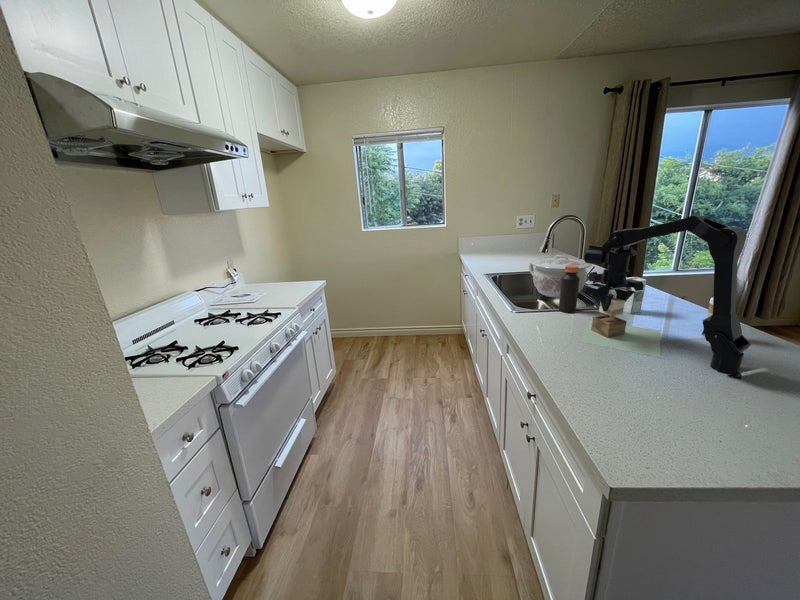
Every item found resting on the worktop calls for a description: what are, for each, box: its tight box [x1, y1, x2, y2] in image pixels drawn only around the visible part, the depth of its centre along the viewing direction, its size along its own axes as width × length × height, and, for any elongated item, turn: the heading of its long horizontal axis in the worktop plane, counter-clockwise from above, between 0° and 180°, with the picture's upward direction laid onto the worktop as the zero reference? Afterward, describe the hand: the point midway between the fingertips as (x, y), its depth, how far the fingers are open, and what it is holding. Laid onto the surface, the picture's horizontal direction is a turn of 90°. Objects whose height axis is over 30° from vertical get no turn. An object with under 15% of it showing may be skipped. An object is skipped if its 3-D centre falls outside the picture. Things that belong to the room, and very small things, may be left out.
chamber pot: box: [528, 254, 593, 299], centre depth 160 cm, size 28×28×21 cm
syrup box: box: [623, 276, 647, 315], centre depth 134 cm, size 6×6×14 cm
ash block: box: [598, 296, 625, 317], centre depth 112 cm, size 5×5×5 cm
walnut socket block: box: [591, 314, 628, 338], centre depth 114 cm, size 7×7×5 cm
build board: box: [579, 319, 661, 358], centre depth 112 cm, size 24×22×1 cm
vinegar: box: [558, 265, 580, 314], centre depth 137 cm, size 7×7×20 cm
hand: (611, 310), depth 113 cm, fingers closed on ash block, 5 cm apart
